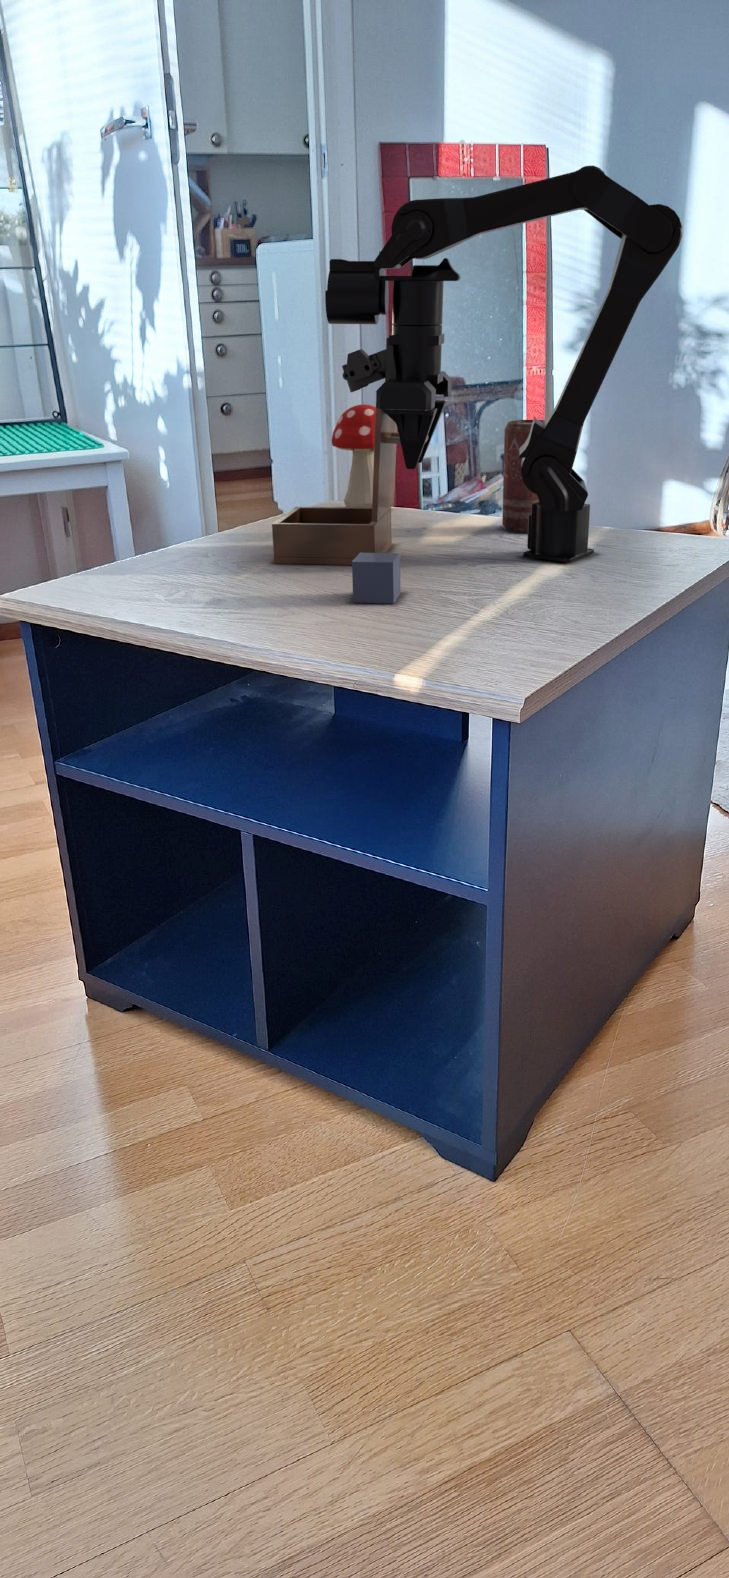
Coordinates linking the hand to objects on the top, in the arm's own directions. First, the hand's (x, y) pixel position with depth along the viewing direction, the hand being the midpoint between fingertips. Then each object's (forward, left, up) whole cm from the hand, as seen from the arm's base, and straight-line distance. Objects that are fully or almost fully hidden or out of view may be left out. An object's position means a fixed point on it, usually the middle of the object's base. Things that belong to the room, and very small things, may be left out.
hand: (414, 465), depth 134 cm
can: (-3, -21, -11) cm, 24 cm away
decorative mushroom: (+25, -21, -11) cm, 35 cm away
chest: (+9, +5, -11) cm, 15 cm away
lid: (+3, +2, +1) cm, 4 cm away
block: (-9, +19, -11) cm, 23 cm away
